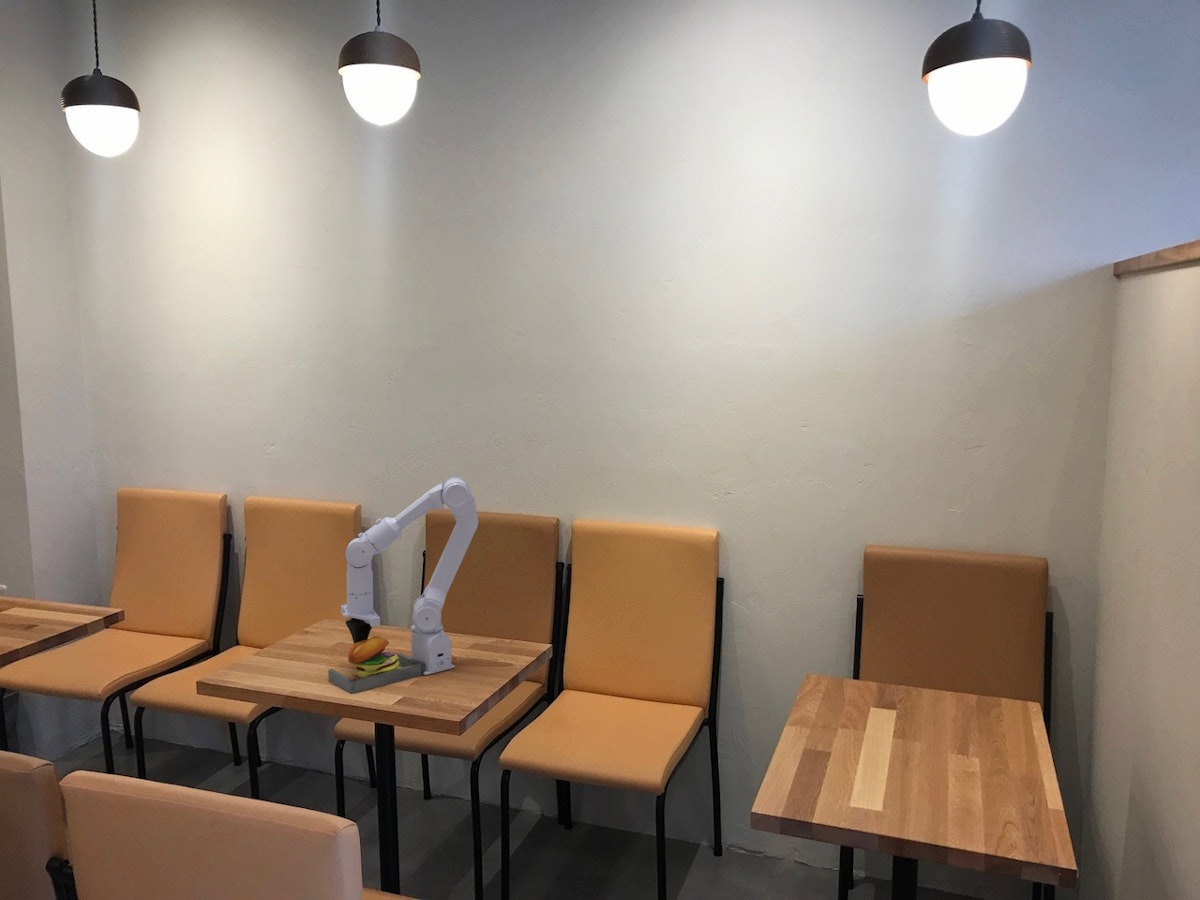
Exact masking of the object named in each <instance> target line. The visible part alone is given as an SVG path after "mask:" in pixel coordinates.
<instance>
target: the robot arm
mask: <svg viewBox="0 0 1200 900" xmlns="http://www.w3.org/2000/svg"><path fill="white" fill-rule="evenodd" d="M475 499H476V498H475V497H474V494H473V492H472V489H471V487H469V485H468V483H467V482H466V480H464V479H463V478H462V477H458V476H452V477H449V478H448V479H446V480H445V481H443V483H439V484H437V485H435V486H434V487H432V488H431V489H429V490H428V491H426V492H425V493H424V494H423V495H421V496H420V497H419V498H417V499H416V500H415V501H414V502H412V503H411V504H409V506H408V507H406V508H405V509H403V510H402V511H401V512H400V513H399V514H397V515H396V516H395V517H389V516H388V517H387V516H386V517H383V518H382V519H381V518H378V519H377V520H375V521H374V522H375V524H374V525H373V526H371V527H370V528H369V529H366V531H365V532H360V533H359V534H357V536H358V537H356V538H354V539H352V540H351V541H350V542H349V543H348V544H347V546H346V550H345V559H346V561H347V564H346V570H347V571H346V604H342V605H340V613H341V614H342V617H344V618H350V619H348V620H346V621H345V625H346V627H347V629H348V630H349V633H350V635H351V638H352V642H353V644H355V643H357V642H360V641H363V640H366V639H369V635H370V633H371V631H372V629H373V628H374V627H378V626H381V617H380V616H379V615H378V614H377V612H376V611H375V609H374V586H373V585H374V583H373V582H374V581H373V580H374V576H373V570H372V560H373V557H374V555H379V554H380V553H382V552H383V551H384V550H386V549H388V548H389V547H390V546H392V545H393V544H394V543H395V542H397V541H398V540H399V539H400V538H402V534H403V532H402V531H403V530H404V529H405V528H406V527H408V526H409V525H410V524H412V523H414V522H415V521H417V520H418V519H419V518H421V517H422V516H424V515H426V513H428V512H430V511H432V510H444V509H445V507H444V505H446V507H447V508H448V509H449V510H450V511H451V512H452V515H453V517H454V519H455V522H456V523H455V525H454V527H453V530H452V532H451V534H450V536H449V538H448V541H447V542H446V545H445V547H444V549H443V551H442V554H441V556H440V558H439V560H438V561H437V564H436V566H435V569H434V571H433V573H432V576H431V578H430V580H429V583H428V584H427V585H426V587H425V588H424V590H423V593H422V594H421V595H420V596H419V597H418V598H417V599H415V601H414V602H413V606H412V613H413V614H412V623H413V624H412V625H411V626H410V634H411V635H410V644H411V645H410V646H411V648H410V649H411V650H410V651H411V656H410V657H411V658H413V659H415V660H418V661H420V662H422V663H424V664H425V672H423V674H424V675H423V676H427V675H431V674H435V673H440V672H442V671H443V672H444V671H447V670H451V669H454V668H455V667H456V665H454V664H452V641H451V638H450V637H449V636H448V635H447V634H446V633H445V631H444V626H443V625H444V624H443V623H442V611H443V607H444V604H445V602H446V597H447V594H448V592H449V590H450V587H451V586H452V583H453V581H454V580H455V577H456V574H457V572H458V571H459V569H460V566H461V564H462V561H463V560H464V557H465V555H466V553H467V550H468V549H469V546H470V544H471V543H472V539H473V537H474V535H475V532H476V531H477V529H478V526H479V518H478V517H479V516H478V512H477V507H476V501H475Z"/></svg>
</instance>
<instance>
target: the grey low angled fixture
mask: <svg viewBox="0 0 1200 900" xmlns="http://www.w3.org/2000/svg"><path fill="white" fill-rule="evenodd" d="M396 655H397V656H398V657H399V659H398V661H399V663H400V664H399V666H400V667H401V668H399V669H395V670H391V671H387V672H383V673H379V674H375V675H371V676H367V677H363V678H356V679H353V678H351V677H349V676H347V675H345V674H343V673H342V672H339V671H338V670H335V669H333V668H330V669H328V671H327V672H328V673H327V675H328V676H327V677H328V682H330V683H331V684H333V685H335V686H337V687H339V689H343V690H344V691H346V692H348V693H350V694H351V695H352V694H355V693H360V692H363V691H367V690H371V689H374V688H375V689H376V688H378V687H382V686H386V685H390V684H394V683H398V682H401V681H405V680H409V679H413V678H417V677H421V676H425V675H424V674H423V672H425V664H424V663H422V662H420V661H418V660H415V659H413V658H412V657H411V656H408V655H406V654H404V653H402V652H398V653H396Z"/></svg>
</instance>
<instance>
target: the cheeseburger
mask: <svg viewBox="0 0 1200 900" xmlns="http://www.w3.org/2000/svg"><path fill="white" fill-rule="evenodd" d="M389 643H390V642H389V641H388V640H387V639H386V638H385V637H382V636H381V635H376V636H372V637H370V638H368V639H366V640H363V641H360V642H357V643H355V644H354V643H353V644H352V645H351V647H350V648H349V652H348V656H347V659H348V660H347V661H348V663H349V664H352V665H353V668H354V672H355V675H356V676H357V679H359V678H363V677H367V676H371V675H375V674H379V673H383V672H387V671H391V670H395V669H399V668H402V666H400V665H399V664H400V663H399V661H398V659H399V657H398V656H397V653H396V652H394V651H385V650H386V647H388V646H389ZM384 651H385V652H384Z"/></svg>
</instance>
